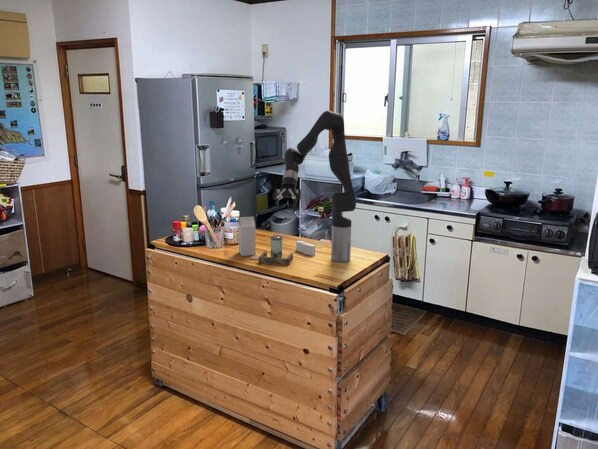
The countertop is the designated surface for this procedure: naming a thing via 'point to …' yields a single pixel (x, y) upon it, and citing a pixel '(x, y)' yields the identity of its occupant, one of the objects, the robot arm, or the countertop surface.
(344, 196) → the robot arm
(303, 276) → the countertop surface
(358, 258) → the countertop surface
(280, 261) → the dock
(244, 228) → the milk carton
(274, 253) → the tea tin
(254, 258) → the terracotta tag
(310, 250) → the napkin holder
